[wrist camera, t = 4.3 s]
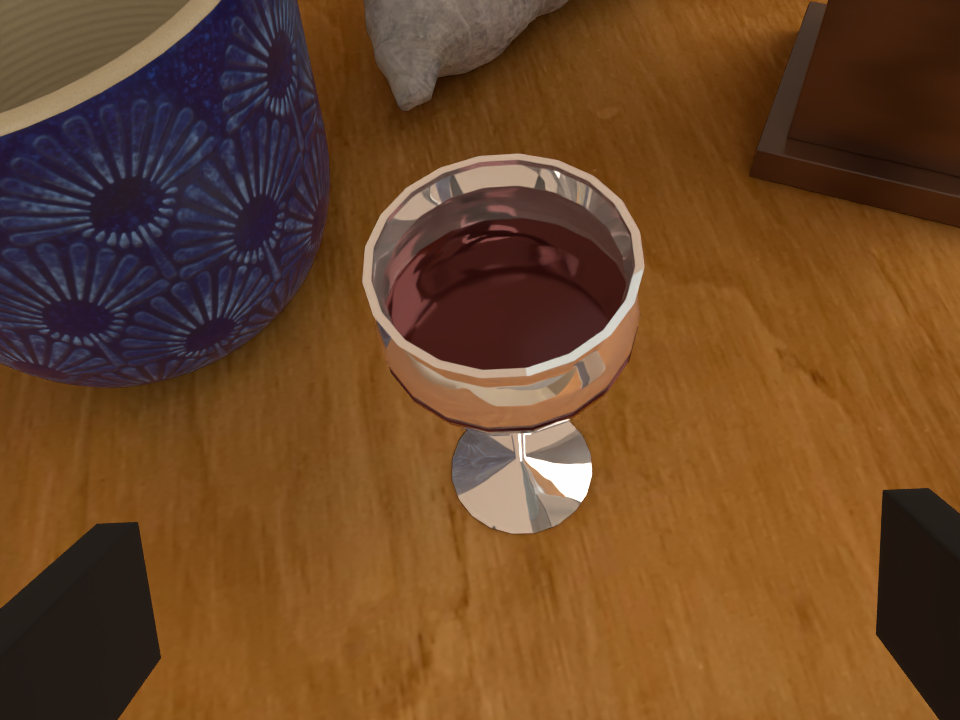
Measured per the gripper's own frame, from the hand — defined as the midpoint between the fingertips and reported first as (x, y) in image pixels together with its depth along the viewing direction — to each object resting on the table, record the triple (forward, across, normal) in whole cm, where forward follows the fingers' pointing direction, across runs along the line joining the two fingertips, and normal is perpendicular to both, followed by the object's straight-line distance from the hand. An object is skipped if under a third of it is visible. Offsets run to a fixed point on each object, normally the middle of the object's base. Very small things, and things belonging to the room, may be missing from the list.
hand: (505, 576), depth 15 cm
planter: (+22, -14, +3) cm, 26 cm away
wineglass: (+15, 0, -4) cm, 16 cm away
